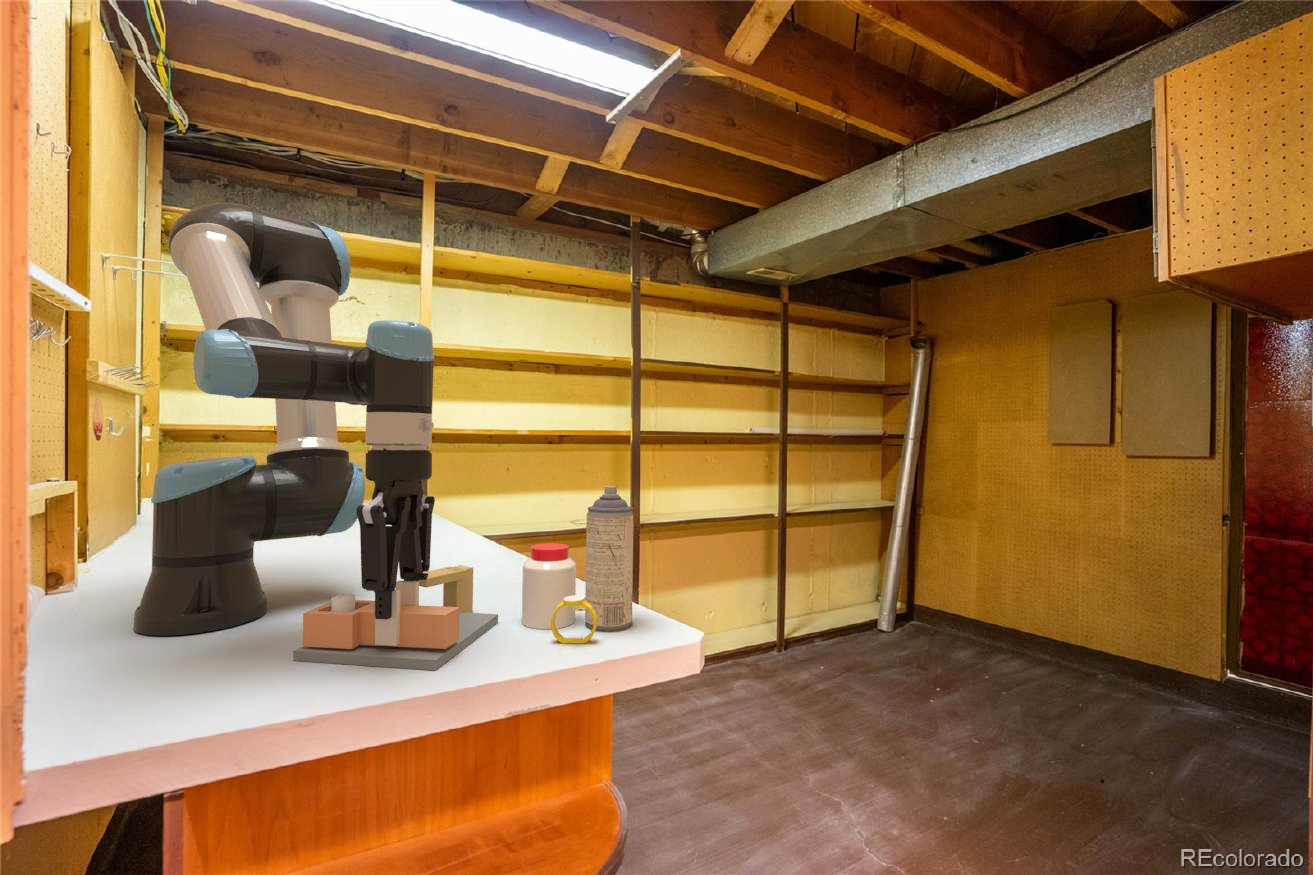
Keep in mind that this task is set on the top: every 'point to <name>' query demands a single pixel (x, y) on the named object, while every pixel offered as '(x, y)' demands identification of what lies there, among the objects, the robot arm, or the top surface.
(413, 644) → the link
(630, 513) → the aerosol can
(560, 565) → the pill bottle
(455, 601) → the board
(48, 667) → the top surface
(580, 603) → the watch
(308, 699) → the top surface
